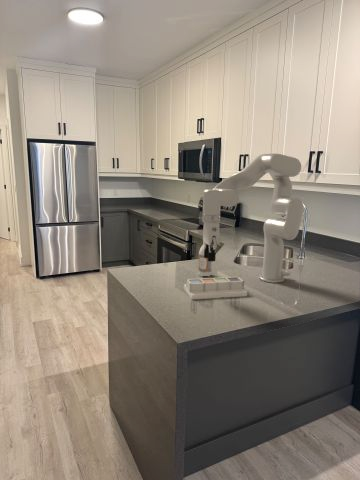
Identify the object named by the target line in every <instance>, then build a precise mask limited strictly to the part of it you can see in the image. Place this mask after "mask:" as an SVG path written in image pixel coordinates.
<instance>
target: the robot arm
mask: <svg viewBox="0 0 360 480" xmlns="http://www.w3.org/2000/svg"><path fill="white" fill-rule="evenodd" d="M301 170H302V163H301V161H300V160H299V159H298V158H296V157H293V156H289V155H286V154H285V155H284V154H281V153H263V154H259V155H258V156H256V157H255V158H254V159H253V160H251V162H249V163H248V164H247V165H246V166H245V167H244V168H242V169H241V170H240V171H238V172H236V173H234V174H233V175H230V176H229V177H226V178H225V179H223V180H222V181H220V182H219V183H217V184H216V186H215V187H214V188H211V189H207V188H206V189H205V190H203V193H202V219H201V220H202V223H203V228H202V243H203V242H204V243H205V245H204V258H208V261H209V262H210V261H212V262H216V255H217V248H218V246H220V242H221V240H220V239H221V238H220V237H221V236H220V233H221V232H220V231H221V230H220V223H221V207H230V208H231V207H234V206H236V205H237V204H238V203H239V201H240V195H239V192H238V191H239V190H243V189H248V188H250V187H253V186H254V185H255V184H257V182H259V180H261V178H263V177H264V176H265V175H266V174H269V175H270V177H271V178H272V181H273V184H274V185H273V194H272V197H271V202H270V203H271V204H270V211H271V213H272V214H273V215H276V216H283V217H285V218H282V217H275V216H274V217H269V218H267V219H266V220H265V221H264V223H263V229H262V230H263V234H264V235H263V236H264V244H263V245H264V247H263V258H262V259H263V261H262V272H261V273H260V274H259V275H258V279H259V278H260V279H259V280H261V281H263V282H265V283H266V282H267V283H274V284H275V283H276V284H277V283H283V282H284V281H285V277H286V276H287V277H288V276H291V272H290V271H285V270H283V263H284V262H283V261H284V250H285V249H284V248H285V243H284V240H289V241H291V240H294V239H296V238H297V236H298V235H299V231H300V227H301V222H302V217H303V212H304V204H303V201H302V200H301V199H300V198H298V197H296V196H292V192H293V183H292V180H291V178H293V177H297V176H298V175H300V173H301Z"/></svg>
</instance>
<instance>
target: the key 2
mask: <svg viewBox="0 0 360 480" xmlns="http://www.w3.org/2000/svg"><path fill="white" fill-rule="evenodd" d="M215 280H216V281H217V282H227V281H226V280H225V279H215Z"/></svg>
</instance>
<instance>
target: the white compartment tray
mask: <svg viewBox="0 0 360 480" xmlns="http://www.w3.org/2000/svg"><path fill="white" fill-rule="evenodd" d="M235 278H237V279H238V280H239V281H230V280H229V279H235ZM215 279H225V280H226V281H227V282H217V281H216V280H215ZM195 280H199V281H200V282H201V283H191V282H190V281H195ZM203 280H213V281H214V282H209V283H205V282H204V281H203ZM183 289H184V291H186V293H187V295H188V297H189V298H190V299H191V300H206V299H221V297H222V298H223V297H224V298H235V297H237V298H238V297H247V296H248V291H247V290H246V289H245V281H244V280H243V279H242V278H241V277H239V276H228V277H225V276H224V277H204V278H201V277H200V278H187V279H186V283H184V284H183ZM224 298H223V299H224Z"/></svg>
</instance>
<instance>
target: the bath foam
mask: <svg viewBox="0 0 360 480" xmlns="http://www.w3.org/2000/svg"><path fill="white" fill-rule="evenodd" d="M202 243H203V244H202V245H201V247H200V249H199V251H198V269H197V270H198V276H200V277H203V276H208V277H211V276H212V274H213V273H212V272H213V261H210V262H209V261H208V258H204V245H205V243H204V242H203V241H202ZM210 275H211V276H210Z"/></svg>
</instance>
